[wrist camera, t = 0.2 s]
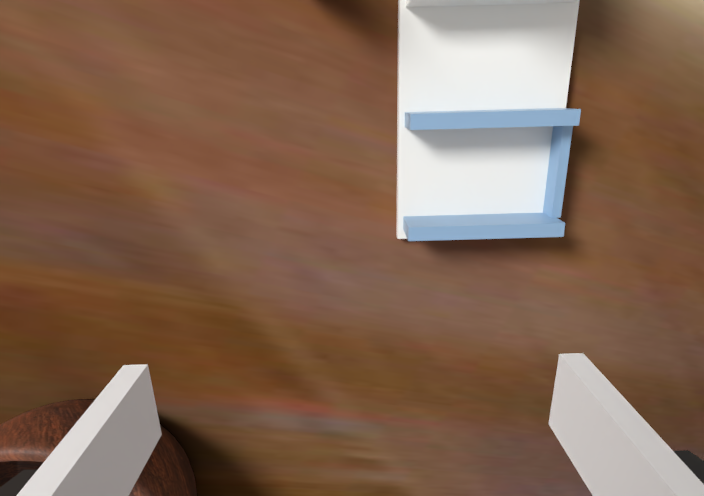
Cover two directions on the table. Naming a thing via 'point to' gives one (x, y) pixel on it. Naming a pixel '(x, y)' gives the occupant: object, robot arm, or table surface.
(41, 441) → the wooden bowl
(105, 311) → the table surface
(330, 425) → the table surface
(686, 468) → the robot arm
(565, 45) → the slotted holder tray
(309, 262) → the table surface
